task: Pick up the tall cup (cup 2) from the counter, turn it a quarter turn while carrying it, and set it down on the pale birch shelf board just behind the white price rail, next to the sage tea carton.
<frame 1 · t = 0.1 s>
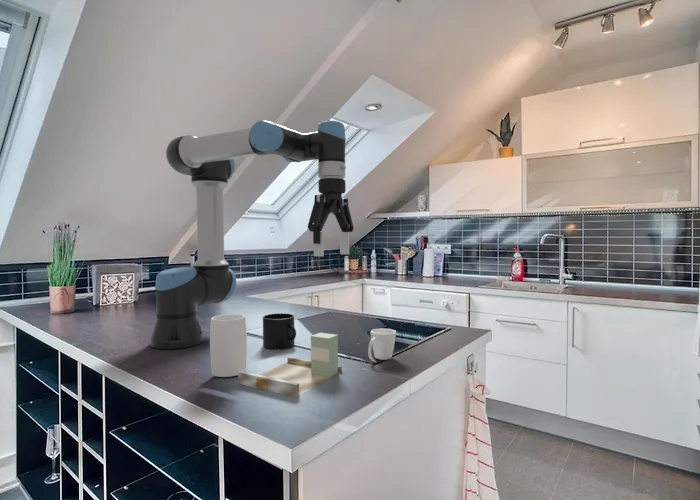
hand: (332, 255, 114), 28 cm above the counter, fingers open, 13 cm apart
mug: (281, 347, 123), on the counter
cup: (380, 363, 107), on the counter
cup 2: (229, 377, 97), on the counter
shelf: (292, 380, 94), on the counter
tea carton: (324, 373, 97), point 1 cm above the counter, touching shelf
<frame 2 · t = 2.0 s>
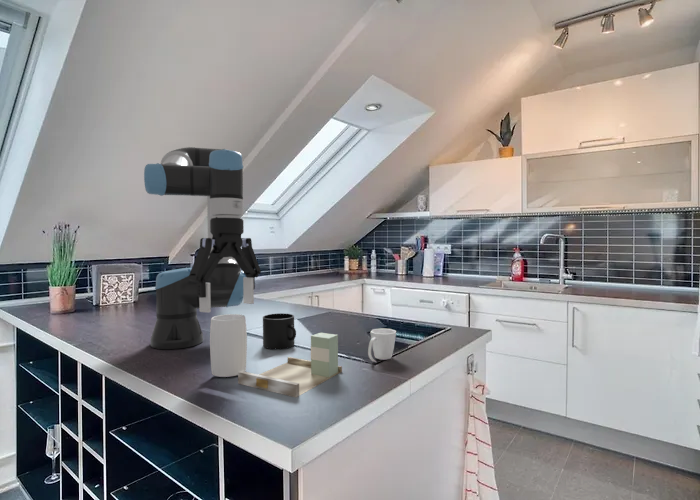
hand: (228, 307, 96), 16 cm above the counter, fingers open, 13 cm apart
nothing on the counter moved.
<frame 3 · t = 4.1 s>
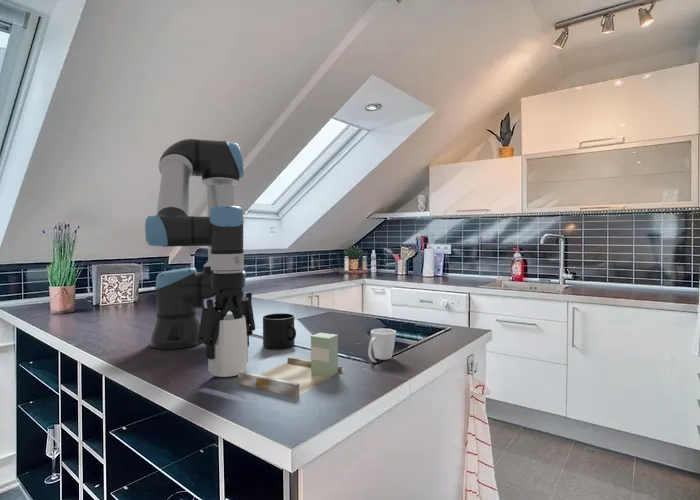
hand: (228, 366, 97), 2 cm above the counter, fingers closed on cup 2, 8 cm apart
cup 2: (229, 377, 97), on the counter, touching gripper
everything else where it was.
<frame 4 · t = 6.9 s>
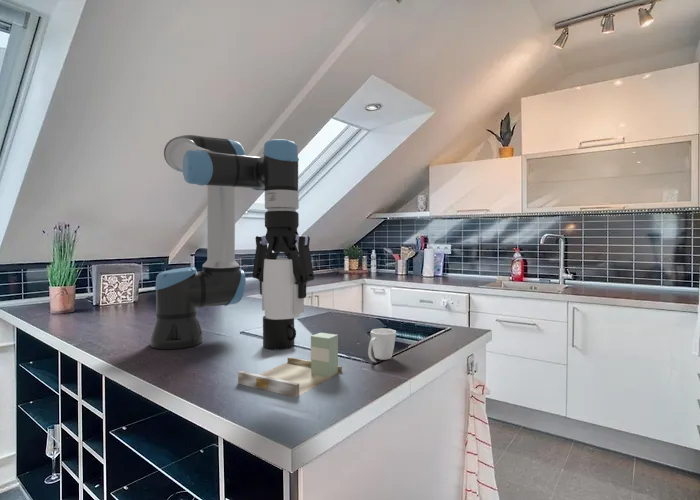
hand: (282, 311, 92), 16 cm above the counter, fingers closed on cup 2, 8 cm apart
cup 2: (282, 322, 92), point 14 cm above the counter, touching gripper
everything else where it was.
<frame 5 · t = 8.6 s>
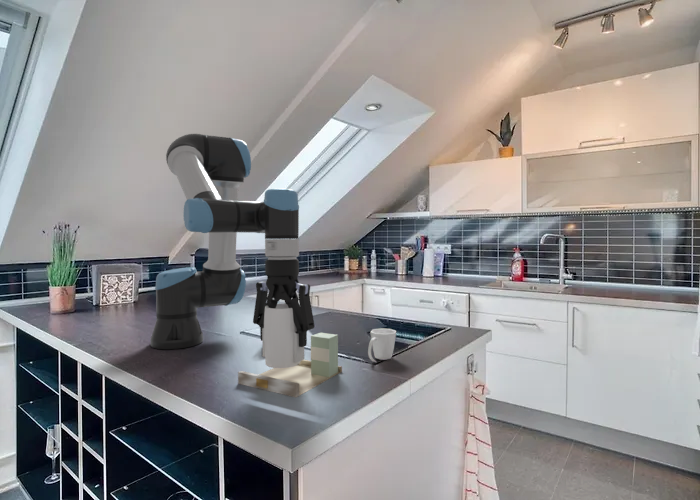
hand: (283, 357, 92), 6 cm above the counter, fingers closed on cup 2, 8 cm apart
cup 2: (283, 368, 92), point 3 cm above the counter, touching gripper
everything else where it was.
when the fingers open (5 cm above the counter, at t = 9.7 s): cup 2 drops 2 cm, resting on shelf.
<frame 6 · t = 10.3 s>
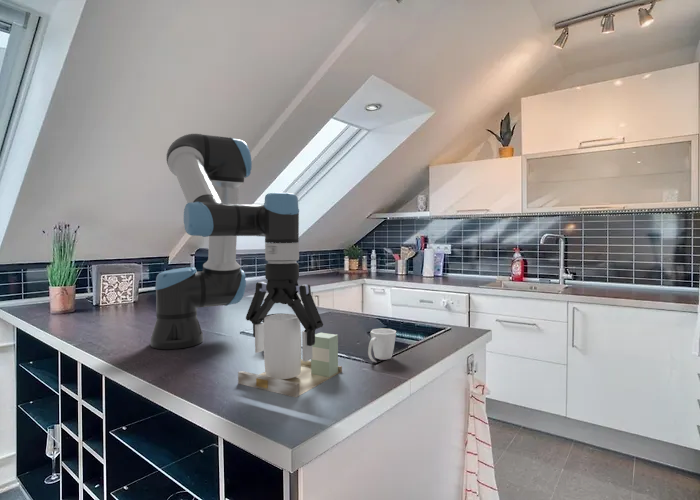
hand: (283, 355, 92), 6 cm above the counter, fingers open, 13 cm apart
cup 2: (283, 379, 93), point 1 cm above the counter, touching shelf
everything else where it was.
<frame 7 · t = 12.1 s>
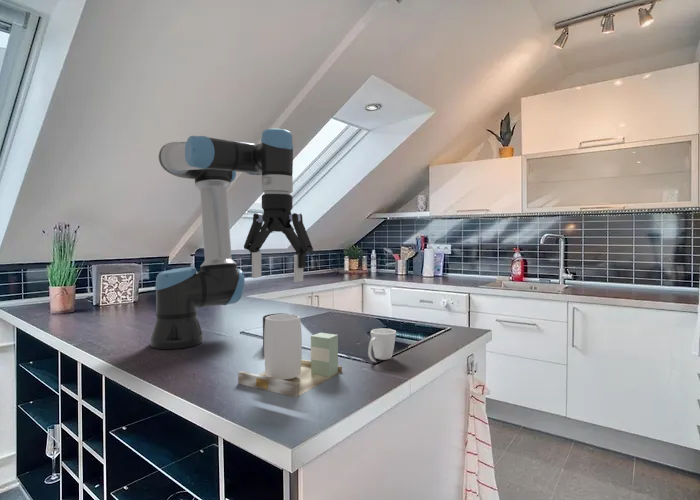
hand: (276, 279, 102), 23 cm above the counter, fingers open, 13 cm apart
nothing on the counter moved.
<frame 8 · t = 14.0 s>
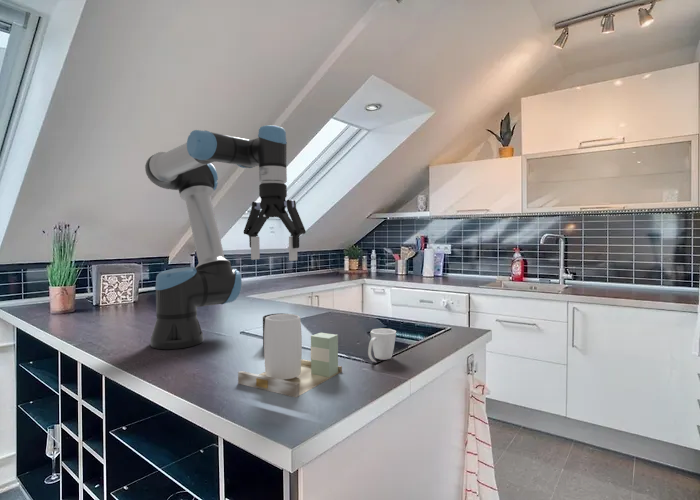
hand: (273, 260, 113), 27 cm above the counter, fingers open, 13 cm apart
nothing on the counter moved.
at the end: cup 2 inside the target area (1.8 cm from its centre), point 0.6 cm above the counter; cup 2 tilted 0°; the gripper is holding nothing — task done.
